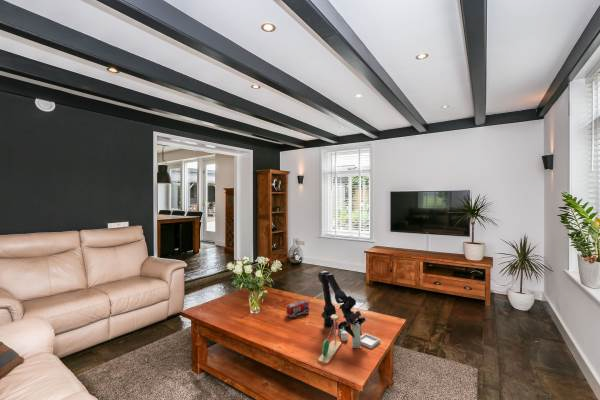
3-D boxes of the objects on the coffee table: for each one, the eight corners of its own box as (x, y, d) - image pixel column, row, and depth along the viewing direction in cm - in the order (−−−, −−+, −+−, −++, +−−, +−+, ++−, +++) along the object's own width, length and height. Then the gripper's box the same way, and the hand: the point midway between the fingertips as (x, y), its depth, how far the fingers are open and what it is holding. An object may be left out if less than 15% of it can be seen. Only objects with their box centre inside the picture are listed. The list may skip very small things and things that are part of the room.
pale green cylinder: (353, 348, 177) (353, 327, 176) (351, 343, 182) (351, 323, 182) (361, 348, 177) (361, 327, 176) (359, 343, 182) (359, 323, 182)
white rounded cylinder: (341, 341, 188) (341, 334, 187) (340, 337, 192) (340, 331, 192) (348, 340, 188) (348, 334, 188) (346, 337, 192) (346, 330, 192)
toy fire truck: (310, 313, 230) (310, 301, 230) (291, 319, 220) (290, 306, 220) (304, 310, 238) (304, 298, 238) (285, 315, 228) (285, 303, 227)
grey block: (340, 336, 193) (340, 330, 193) (338, 333, 198) (337, 327, 198) (347, 336, 194) (347, 330, 194) (344, 332, 199) (344, 326, 199)
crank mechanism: (332, 342, 187) (332, 313, 186) (342, 344, 184) (341, 314, 183) (317, 362, 164) (316, 329, 164) (327, 365, 161) (327, 332, 161)
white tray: (356, 342, 186) (356, 339, 186) (365, 336, 194) (365, 333, 194) (371, 348, 178) (371, 345, 178) (380, 342, 186) (380, 339, 186)
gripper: (340, 309, 178) (350, 335, 169) (364, 304, 186) (375, 328, 177) (333, 317, 185) (343, 341, 176) (356, 311, 194) (367, 335, 184)
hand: (357, 336), depth 178 cm, fingers closed on pale green cylinder, 5 cm apart
